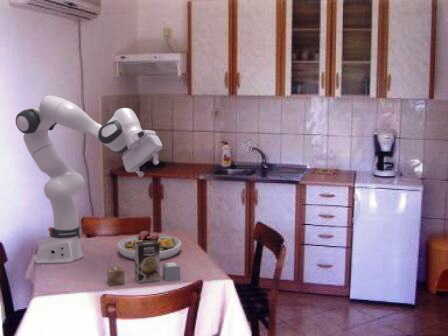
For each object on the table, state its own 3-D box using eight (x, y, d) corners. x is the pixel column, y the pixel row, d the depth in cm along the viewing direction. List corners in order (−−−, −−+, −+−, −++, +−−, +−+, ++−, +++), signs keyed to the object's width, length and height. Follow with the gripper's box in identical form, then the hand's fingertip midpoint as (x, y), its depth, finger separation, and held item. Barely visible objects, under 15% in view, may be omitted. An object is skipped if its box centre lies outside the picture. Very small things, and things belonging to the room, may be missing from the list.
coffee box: (138, 283, 237) (138, 245, 234) (134, 278, 243) (134, 241, 240) (160, 280, 241) (159, 243, 238) (155, 276, 247) (155, 239, 244)
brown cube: (109, 286, 234) (109, 271, 233) (107, 281, 240) (107, 266, 239) (124, 285, 236) (124, 270, 235) (122, 280, 242) (121, 265, 241)
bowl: (189, 258, 271) (189, 242, 269) (125, 266, 260) (125, 249, 259) (171, 241, 298) (170, 226, 297) (112, 247, 287) (112, 232, 286)
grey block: (166, 281, 240) (165, 267, 239) (162, 276, 246) (162, 262, 245) (180, 280, 242) (180, 265, 241) (176, 275, 248) (176, 261, 247)
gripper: (115, 154, 245) (127, 183, 241) (147, 127, 236) (160, 156, 231) (126, 155, 250) (138, 183, 246) (157, 129, 241) (170, 157, 236)
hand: (149, 170), depth 238 cm, fingers open, 8 cm apart
